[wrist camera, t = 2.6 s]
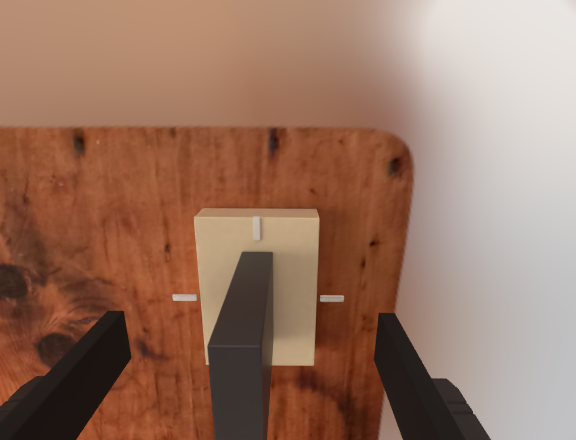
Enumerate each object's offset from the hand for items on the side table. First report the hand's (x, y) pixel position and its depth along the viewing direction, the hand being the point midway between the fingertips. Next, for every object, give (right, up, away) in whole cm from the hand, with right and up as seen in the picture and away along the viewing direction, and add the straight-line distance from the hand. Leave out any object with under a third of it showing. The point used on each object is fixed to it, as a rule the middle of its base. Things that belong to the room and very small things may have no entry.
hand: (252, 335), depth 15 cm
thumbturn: (0, +1, +3) cm, 4 cm away
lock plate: (0, +2, +5) cm, 6 cm away
